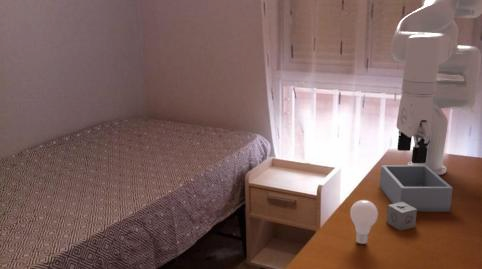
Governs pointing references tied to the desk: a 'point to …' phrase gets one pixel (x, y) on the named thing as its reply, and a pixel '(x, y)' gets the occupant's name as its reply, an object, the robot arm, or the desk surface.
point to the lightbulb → (363, 218)
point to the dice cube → (401, 215)
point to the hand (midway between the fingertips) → (410, 156)
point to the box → (416, 187)
